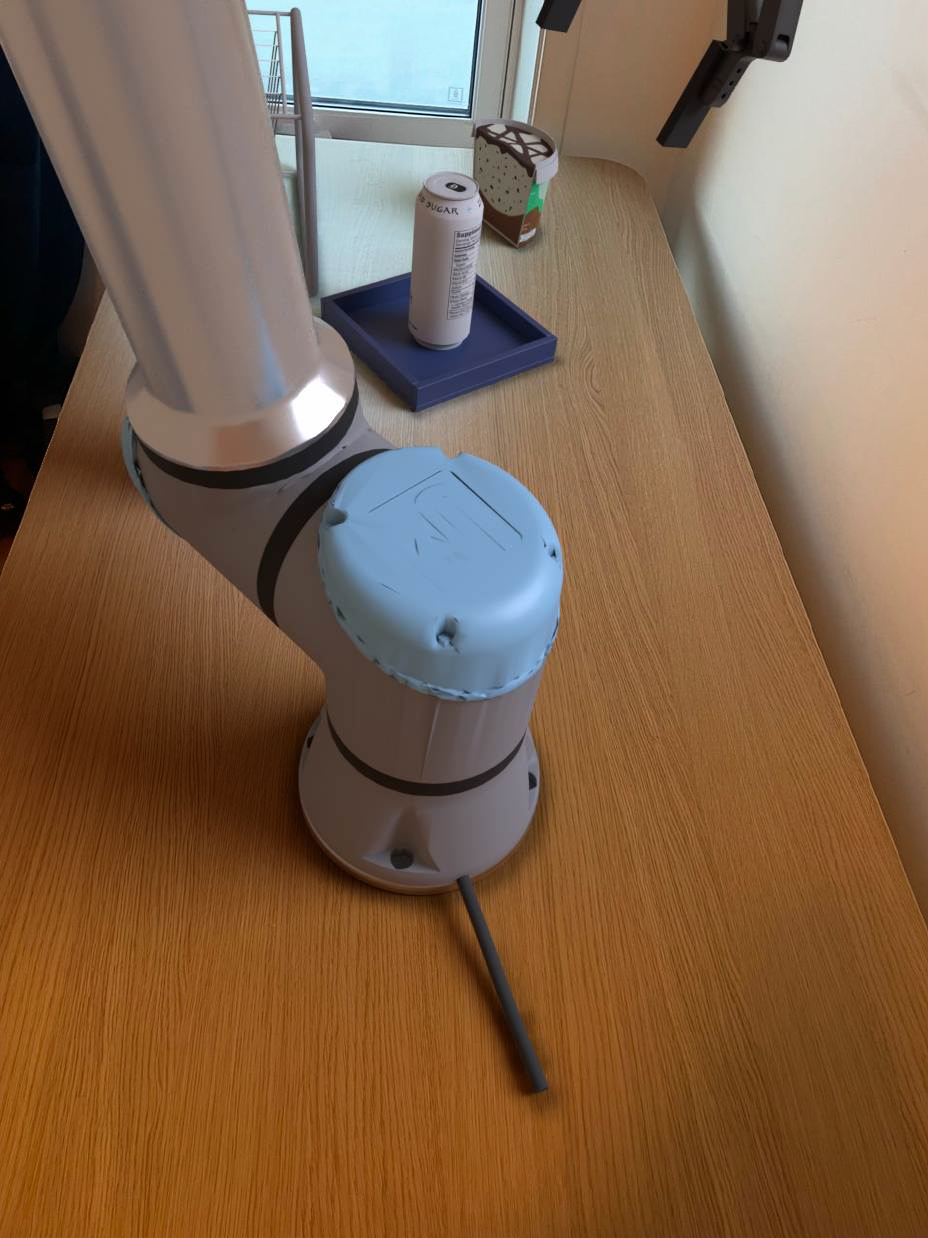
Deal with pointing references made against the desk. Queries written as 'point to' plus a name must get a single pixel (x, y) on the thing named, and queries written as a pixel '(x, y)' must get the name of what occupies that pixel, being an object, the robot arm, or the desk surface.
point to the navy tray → (428, 375)
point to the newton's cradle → (298, 134)
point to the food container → (512, 175)
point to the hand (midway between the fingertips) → (608, 84)
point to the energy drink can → (444, 259)
